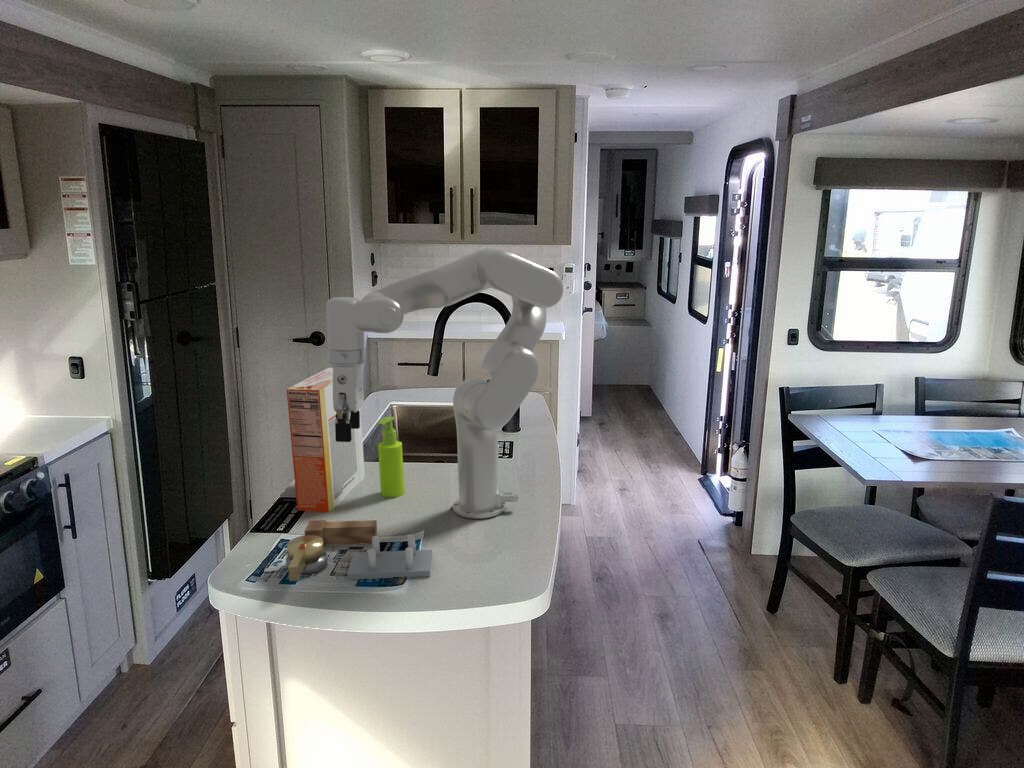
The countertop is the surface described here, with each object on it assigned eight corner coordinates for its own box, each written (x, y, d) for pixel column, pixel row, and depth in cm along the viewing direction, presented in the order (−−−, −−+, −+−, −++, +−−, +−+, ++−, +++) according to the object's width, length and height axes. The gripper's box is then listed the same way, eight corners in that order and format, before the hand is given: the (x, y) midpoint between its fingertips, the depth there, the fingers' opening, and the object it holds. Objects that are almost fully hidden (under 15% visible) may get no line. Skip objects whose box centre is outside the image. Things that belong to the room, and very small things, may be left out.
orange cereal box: (336, 476, 195) (328, 367, 188) (364, 477, 193) (357, 368, 186) (297, 510, 173) (286, 389, 166) (328, 512, 171) (319, 390, 164)
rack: (432, 554, 150) (431, 531, 148) (429, 576, 141) (428, 552, 140) (354, 557, 149) (352, 534, 148) (347, 579, 140) (345, 555, 139)
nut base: (331, 556, 149) (330, 547, 149) (323, 575, 142) (322, 566, 141) (271, 558, 149) (270, 549, 148) (260, 577, 141) (259, 568, 141)
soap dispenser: (374, 497, 180) (369, 420, 175) (388, 487, 186) (384, 413, 181) (394, 500, 178) (390, 423, 173) (408, 490, 184) (404, 415, 179)
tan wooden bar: (378, 535, 159) (377, 518, 158) (375, 545, 154) (373, 528, 153) (311, 537, 158) (309, 520, 158) (305, 548, 153) (304, 530, 152)
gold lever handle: (292, 547, 148) (291, 533, 147) (327, 546, 148) (326, 532, 148) (274, 581, 134) (273, 566, 134) (312, 580, 135) (311, 565, 134)
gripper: (356, 364, 143) (358, 447, 147) (371, 349, 160) (372, 424, 164) (318, 364, 143) (321, 446, 147) (337, 349, 160) (338, 423, 163)
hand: (348, 434), depth 155 cm, fingers open, 9 cm apart
